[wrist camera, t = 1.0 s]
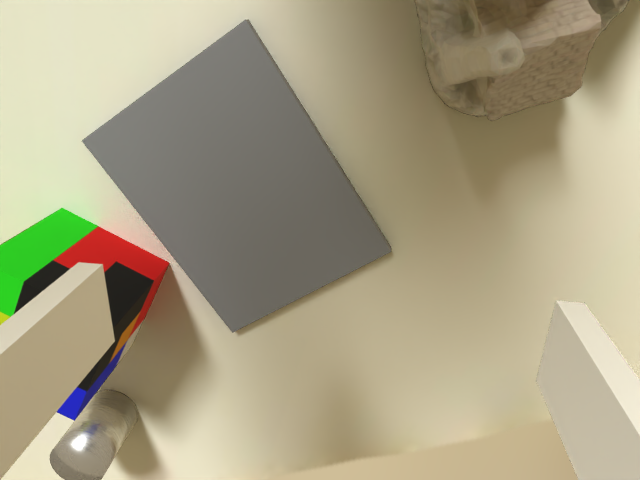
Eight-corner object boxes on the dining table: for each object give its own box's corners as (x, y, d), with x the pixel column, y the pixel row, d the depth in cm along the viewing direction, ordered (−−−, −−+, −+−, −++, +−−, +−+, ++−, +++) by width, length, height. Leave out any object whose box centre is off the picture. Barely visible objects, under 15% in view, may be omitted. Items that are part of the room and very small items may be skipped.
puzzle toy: (132, 344, 48) (74, 420, 39) (33, 295, 47) (-50, 362, 38) (169, 262, 44) (114, 326, 35) (62, 207, 43) (-24, 258, 34)
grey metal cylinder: (80, 401, 52) (38, 455, 45) (116, 382, 50) (77, 436, 44) (112, 435, 53) (76, 492, 47) (148, 418, 52) (115, 474, 45)
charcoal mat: (87, 138, 40) (81, 140, 39) (248, 19, 35) (245, 19, 35) (234, 327, 46) (232, 332, 45) (391, 247, 41) (391, 251, 40)
